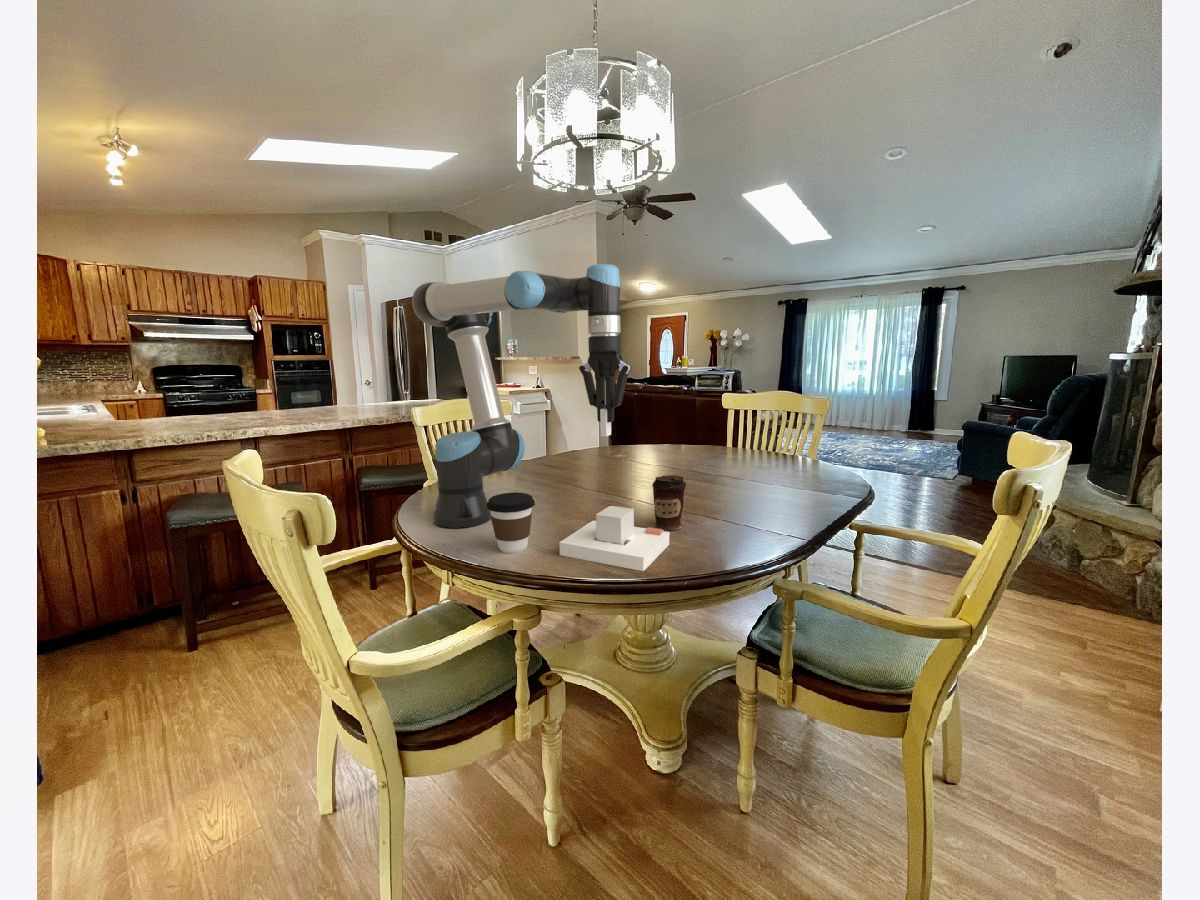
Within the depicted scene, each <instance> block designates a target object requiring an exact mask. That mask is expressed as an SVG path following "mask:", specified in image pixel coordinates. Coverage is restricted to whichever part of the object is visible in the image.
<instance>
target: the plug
mask: <svg viewBox="0 0 1200 900" xmlns="http://www.w3.org/2000/svg"><path fill="white" fill-rule="evenodd" d="M634 510H635V509H634V508H631V507H630V508H628V507H623V506H617V505H615V506H614V505H609V506H607V507H605V508H604V509H602V510H601V511H600V512H598V513H596V514H595V521H596V530H597V540H598V541H601V542H610V543H616V544H619V545H624V542H625V541H626V540H627V539H628V538H630V537H631V536H632V535H633V534H634V527H635V521H634V518H635V511H634Z"/></svg>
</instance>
